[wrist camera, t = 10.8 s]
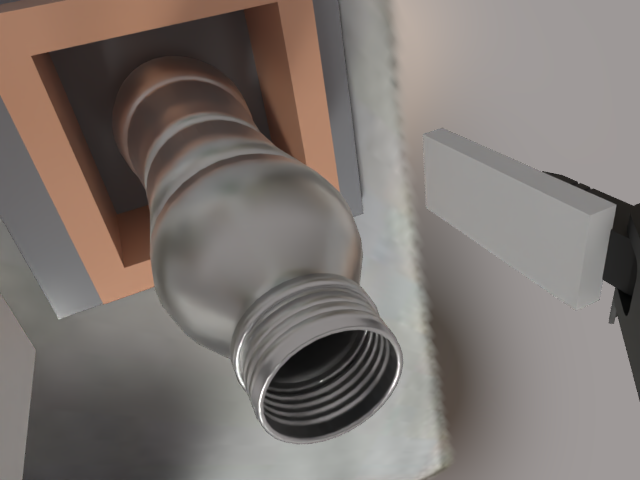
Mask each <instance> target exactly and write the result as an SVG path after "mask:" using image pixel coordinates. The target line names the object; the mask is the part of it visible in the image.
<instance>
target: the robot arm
mask: <svg viewBox="0 0 640 480" xmlns="http://www.w3.org/2000/svg"><path fill="white" fill-rule="evenodd" d="M423 151H424V172H425V194H426V208H427V209H429V210H430V211H432V212H433V213H434V214H436V215H437V216H439V217H440V218H442V219H443V220H444V221H446V222H447V223H449V224H450V225H452V226H453V227H455V228H456V229H458V230H459V231H460V232H462V233H463V234H465V235H466V236H468V237H469V238H471V239H472V240H473V241H475V242H476V243H478V244H479V245H481V246H482V247H484V248H485V249H487V250H488V251H490V252H491V253H492V254H494V255H495V256H497V257H498V258H500V259H501V260H503V261H504V262H505V263H507V264H508V265H510V266H511V267H513V268H514V269H515V270H517V271H519V272H520V273H521V274H523V275H524V276H526V277H527V278H528V279H530V280H531V281H533V282H534V283H536V284H537V285H539V286H540V287H541V288H543V289H545V290H546V291H547V292H549V293H550V294H552V295H553V296H555V297H556V298H557V299H559V300H560V301H562V302H563V303H565V304H566V305H568V306H569V307H570V308H572V309H573V310H575V311H577V310H580V309H581V308H584V307H586V306H588V305H590V304H592V303H594V302H597V301H599V300H600V294H601V288H602V282H603V280H604V281H606V282H608V283H609V284H611V285H613V286H614V287H615V292H614V297H613V302H612V307H611V312H610V317H609V323H610V324H614V320H615V317H617V316H618V319H619V323H620V327H621V331H622V335H623V339H624V342H625V346H626V350H627V354H628V358H629V361H630V365H631V369H632V373H633V377H634V381H635V385H636V389H637V392H638V396H639V400H640V203H639V204H636V205H635V206H633V205H630V204H628V203H626V202H623V201H621V200H619V199H616V198H614V197H611V196H609V195H607V194H605V193H602V192H600V191H598V190H596V189H590V187H588V186H586V185H584V184H581V183H580V184H578V182H577V181H574V180H572V179H570V178H568V177H565V176H563V175H559V174H554V173H549V172H544V171H542V172H541V171H539V170H537V169H535V168H532V167H530V166H528V165H525V164H523V163H521V162H519V161H516V160H514V159H512V158H510V157H507V156H505V155H503V154H500V153H498V152H496V151H493V150H491V149H489V148H487V147H485V146H482V145H480V144H478V143H476V142H473V141H471V140H468V139H467V138H464V137H462V136H460V135H458V134H455V133H453V132H451V131H448V130H446V129H444V128H441V129H437V130H434V131H431V132H428V133H425V134H423ZM35 355H36V349H35V348H34V346H33V345H32V343H31V341H30V340H29V338H28V337H27V335H26V333H25V332H24V330H23V329H22V327H21V325H20V324H19V322H18V320H17V319H16V317H15V316H14V314H13V312H12V311H11V309H10V308H9V306H8V304H7V303H6V301H5V299H4V298H3V296H2V295H1V293H0V480H22V478H23V468H24V459H25V450H26V440H27V431H28V421H29V412H30V402H31V393H32V383H33V374H34V364H35Z"/></svg>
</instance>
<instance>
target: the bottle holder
mask: <svg viewBox="0 0 640 480" xmlns="http://www.w3.org/2000/svg"><path fill="white" fill-rule="evenodd" d="M165 56H182V57H187V58H192V59H195V60H199V61H201V62H204V63H206V64H209V65H211V66H213V67H215V68H216V69H218V70H219V71H221V72H222V73H224V74H225V75H226V76H227V77H228V78H229V79H230V80H231V81H232V82H233V83H234V84H235V86H236V87H237V88H238V90H239V91H240V93H241V94H242V96H243V98H244V100H245V102H246V104H247V106H248V109H249V111H250V113H251V115H252V119H253V122H254V123H255V125H256V126H257V128H258V129H259V131H260V132H261V133H262V134H263V135H264V136H265V137H266V138H267V139H268V140H270V141H271V142H272V143H273V144H274V145H275V146H276V147H277V148H279V149H281V150H282V151H284V152H286V153H287V154H289V155H290V156H292V157H294V158H295V159H297V160H298V161H300V162H302V163H303V164H305V165H307V166H308V167H310V168H312V169H313V170H315V171H316V172H317V173H319V174H320V175H321V176H322V177H323V178H325V179H326V180H327V181H328V182H329V183H331V184H332V185H333V186H334V187H335V188H336V189H337V190H338V191H339V192H340V193H341V194H342V196H343V198H344V199H345V201H346V202H347V204H348V205H349V207H350V209H351V212H352V215H353V217H355V216H358V215H361V214H363V206H362V198H361V190H360V181H359V173H358V164H357V156H356V147H355V139H354V130H353V122H352V114H351V105H350V97H349V88H348V80H347V71H346V63H345V54H344V46H343V37H342V29H341V21H340V12H339V4H338V0H0V217H1V219H2V220H3V222H4V224H5V226H6V227H7V229H8V231H9V233H10V234H11V236H12V238H13V240H14V241H15V243H16V245H17V247H18V249H19V250H20V252H21V254H22V256H23V257H24V259H25V261H26V263H27V264H28V266H29V268H30V270H31V271H32V273H33V275H34V277H35V278H36V280H37V282H38V284H39V286H40V287H41V289H42V291H43V293H44V294H45V296H46V298H47V300H48V301H49V303H50V305H51V307H52V308H53V310H54V312H55V314H56V316H57V317H58V319H61V318H64V317H67V316H70V315H73V314H76V313H78V312H81V311H84V310H87V309H90V308H93V307H96V306H99V305H102V304H103V305H104V304H106V303H109V302H112V301H115V300H118V299H121V298H124V297H127V296H129V295H132V294H135V293H138V292H141V291H144V290H147V289H150V288H152V287H155V286H154V280H153V274H152V267H151V260H150V210H149V205H148V199H147V195H146V190H145V188H144V187H143V185H142V183H141V181H140V179H139V177H138V176H137V175H136V174H135V173H134V172H133V171H132V170H131V168H130V167H129V165H128V164H127V162H126V161H125V159H124V158H123V156H122V155H121V153H120V152H119V149H118V147H117V144H116V142H115V139H114V134H113V129H112V111H113V107H114V104H115V100H116V96H117V93H118V91H119V89H120V87H121V85H122V83H123V82H124V80H125V79H126V78H127V77H128V76H129V74H130V73H131V72H132V71H133V70H135V69H136V68H137V67H139V66H140V65H141V64H143V63H145V62H148V61H150V60H152V59H155V58H160V57H165Z"/></svg>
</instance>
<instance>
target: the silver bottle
mask: <svg viewBox="0 0 640 480" xmlns="http://www.w3.org/2000/svg"><path fill="white" fill-rule="evenodd" d="M112 129H113V134H114V139H115V142H116V144H117V147H118V149H119V152H120V153H121V155H122V156H123V158H124V159H125V161H126V162H127V164H128V165H129V167H130V168H131V170H132V171H133V172H134V173H135V174H136V175H137V176H138V177H139V179H140V181H141V183H142V185H143V187H144V188H145V190H146V195H147V199H148V205H149V210H150V260H151V267H152V274H153V280H154V286H155V291H156V293H157V295H158V297H159V300H160V302H161V304H162V306H163V307H164V309H165V310H166V311H167V313H168V314H169V315H170V316H171V318H172V319H173V320H174V321H175V322H176V324H177V325H178V326H179V327H180V328H181V329H182V330H183V332H184V333H185V334H186V335H187V336H189V337H190V338H191V339H193V340H194V341H195V342H196V343H198V344H199V345H201V346H203V347H205V348H207V349H209V350H211V351H214V352H216V353H218V354H220V355H223V356H225V357H227V358H229V359H231V362H232V365H233V368H234V371H235V373H236V376H237V379H238V381H239V383H240V385H241V386H242V387H243V389H244V390H245V391H246V392H247V393H248V396H249V398H250V401H251V404H252V407H253V409H254V412H255V415H256V418H257V419H258V421H259V422H260V423H261V425H262V427H263V428H264V429H265V431H266V432H267V433H268V434H270V435H271V436H272V437H274V438H275V439H278V440H280V441H283V442H286V443H293V444H312V443H317V442H323V441H326V440H329V439H332V438H336V437H338V436H340V435H342V434H345V433H347V432H349V431H351V430H352V429H354V428H356V427H357V426H359V425H361V424H362V423H363V422H365V421H366V420H367V419H369V418H370V417H371V416H373V415H374V414H375V413H376V412H377V411H378V410H379V409H380V408H381V407H382V406H383V405H384V403H385V402H386V401H387V400H388V398H389V397H390V396H391V394H392V393H393V391H394V389H395V388H396V386H397V384H398V381H399V379H400V376H401V373H402V367H403V354H402V351H401V348H400V345H399V343H398V342H397V339H396V337H395V336H394V334H393V333H392V332H391V330H390V329H389V328H388V326H387V325H386V324H385V323H384V321H383V320H382V319H381V318H380V316H379V313H378V310H377V307H376V305H375V304H374V302H373V301H372V300H371V298H370V297H369V296H368V294H367V293H366V292H365V291H364V289H363V288H362V287H361V286H360V278H361V268H362V259H363V252H362V242H361V238H360V235H359V232H358V229H357V226H356V224H355V221H354V218H353V215H352V212H351V209H350V207H349V205H348V204H347V202H346V201H345V199H344V198H343V196H342V194H341V193H340V192H339V191H338V190H337V189H336V188H335V187H334V186H333V185H332V184H331V183H329V182H328V181H327V180H326V179H325V178H323V177H322V176H321V175H320V174H319V173H317V172H316V171H315V170H313V169H312V168H310V167H308V166H307V165H305V164H303V163H302V162H300V161H298V160H297V159H295V158H294V157H292V156H290V155H289V154H287V153H286V152H284V151H282V150H281V149H279V148H277V147H276V146H275V145H274V144H273V143H272V142H271V141H270V140H268V139H267V138H266V137H265V136H264V135H263V134H262V133H261V132H260V131H259V129H258V128H257V126H256V125H255V123H254V122H253V119H252V115H251V113H250V111H249V109H248V106H247V104H246V102H245V100H244V98H243V96H242V94H241V93H240V91H239V90H238V88H237V87H236V86H235V84H234V83H233V82H232V81H231V80H230V79H229V78H228V77H227V76H226V75H225V74H224V73H222V72H221V71H219V70H218V69H216V68H215V67H213V66H211V65H209V64H206V63H204V62H201V61H199V60H195V59H192V58H187V57H182V56H165V57H160V58H155V59H152V60H150V61H148V62H145V63H143V64H141V65H140V66H139V67H137V68H136V69H135V70H133V71H132V72H131V73H130V74H129V76H128V77H127V78H126V79H125V80H124V82H123V83H122V85H121V87H120V89H119V91H118V93H117V96H116V100H115V104H114V107H113V111H112Z"/></svg>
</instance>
